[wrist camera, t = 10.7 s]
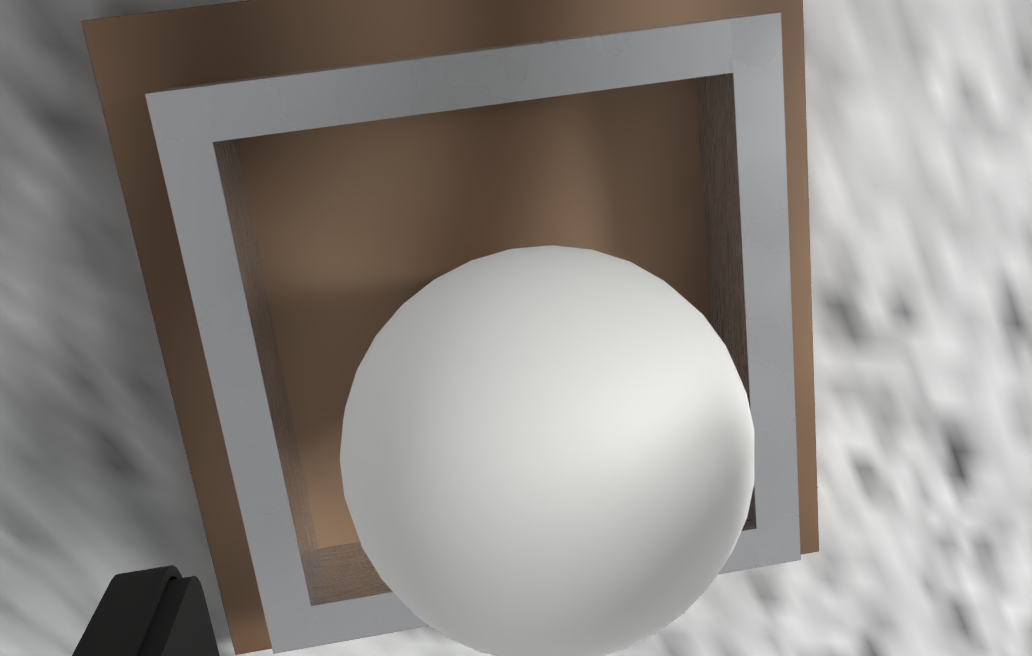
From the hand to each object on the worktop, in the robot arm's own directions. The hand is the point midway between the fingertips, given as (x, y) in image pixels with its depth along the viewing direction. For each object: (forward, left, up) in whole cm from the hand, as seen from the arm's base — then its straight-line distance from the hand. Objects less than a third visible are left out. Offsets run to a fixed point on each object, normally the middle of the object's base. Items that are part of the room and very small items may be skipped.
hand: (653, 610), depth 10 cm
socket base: (0, 0, -14) cm, 14 cm away
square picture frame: (0, 0, -14) cm, 14 cm away
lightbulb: (0, 0, -13) cm, 13 cm away
